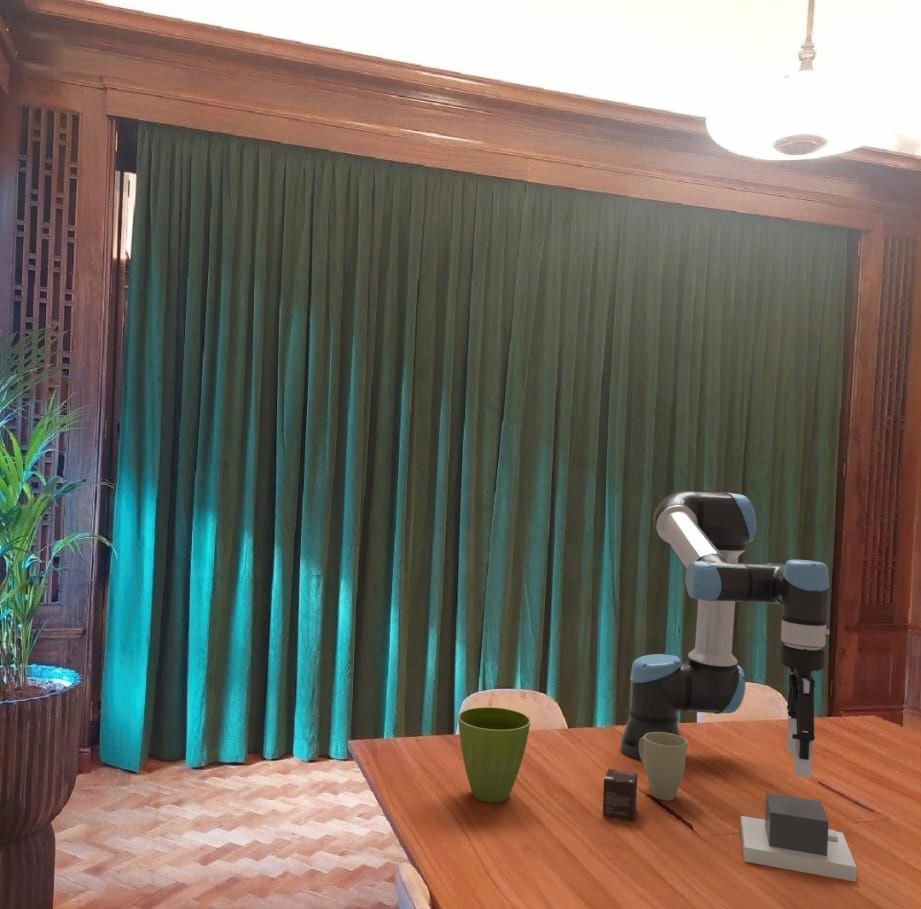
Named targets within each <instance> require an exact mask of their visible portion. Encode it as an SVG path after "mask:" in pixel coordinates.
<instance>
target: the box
mask: <svg viewBox="0 0 921 909" xmlns="http://www.w3.org/2000/svg"><path fill="white" fill-rule="evenodd" d="M637 790H638V772H637V773H636V772H629V771H625V770H624V771H623V770H617V769H611V768H608V769H607V772H606V774H605V776H604V779H603V796H602V799H603V800H602V816H607V817H611V818H612V817H613V818H619V819H625V820H629V821H633V820H634V817H635V813H636V810H637V794H638V792H637Z"/></svg>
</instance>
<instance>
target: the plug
mask: <svg viewBox="0 0 921 909" xmlns="http://www.w3.org/2000/svg"><path fill="white" fill-rule="evenodd" d="M764 811H765V812H764V813H765V816H764V817H765V818H764V820H765V827H766V832H767V838H768V843H769V846H771V847H777V848H783V849H788V850H794V851H800V852H806V853H812V854H817V855H823V856H827V846H828V829H829V820H828V817H827V814H826V811H825V809H824V807H823V804H822V801H821V800H817V799H811V798H803V797H798V796H790V795H785V794H779V793H771V792H766V794H765V810H764Z"/></svg>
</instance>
